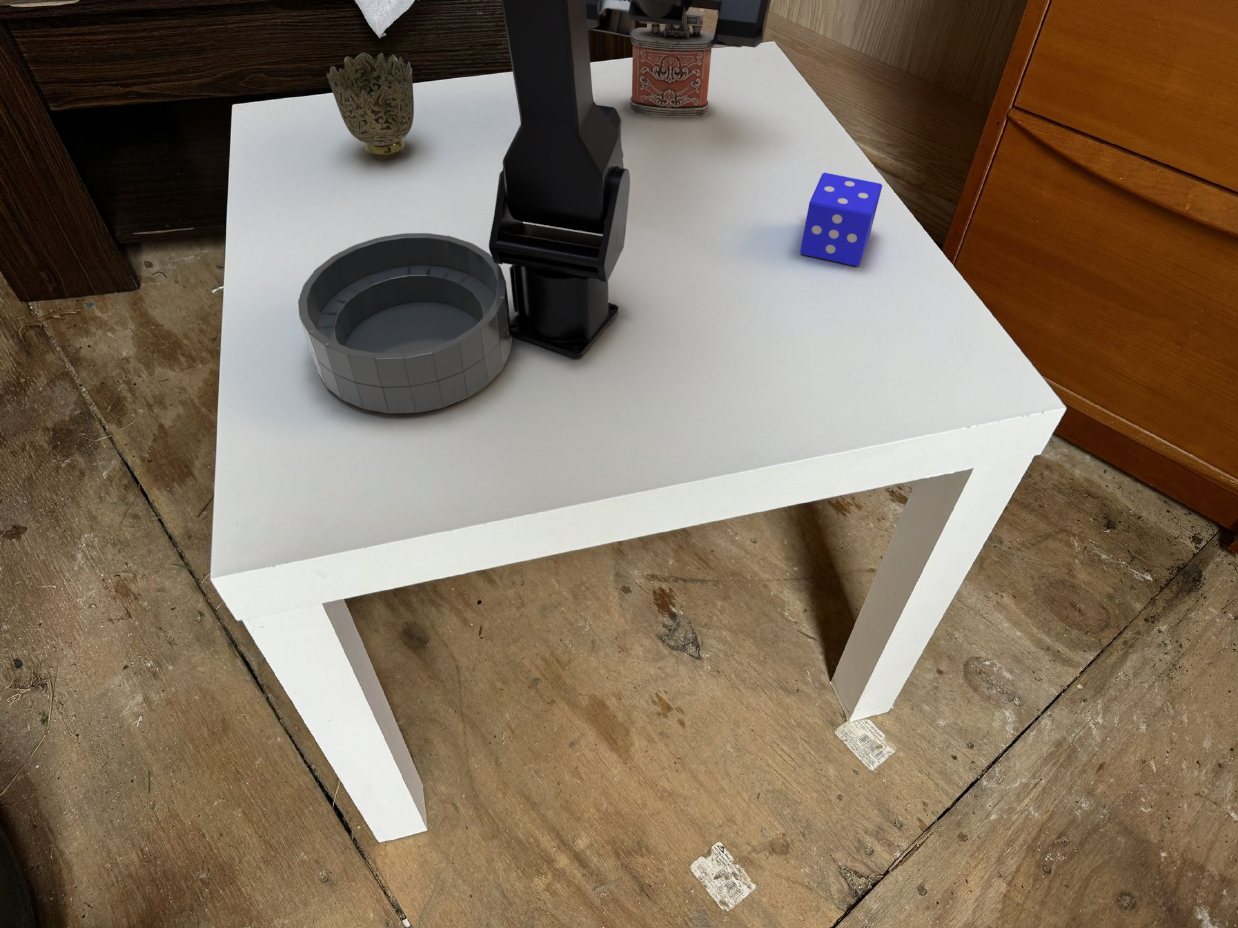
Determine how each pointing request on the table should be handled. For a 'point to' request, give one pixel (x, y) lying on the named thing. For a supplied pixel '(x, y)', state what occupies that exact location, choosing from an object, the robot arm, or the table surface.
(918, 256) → the table surface
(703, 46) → the lighter
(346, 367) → the bowl
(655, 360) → the table surface
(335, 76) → the cup
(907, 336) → the table surface
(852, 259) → the die
